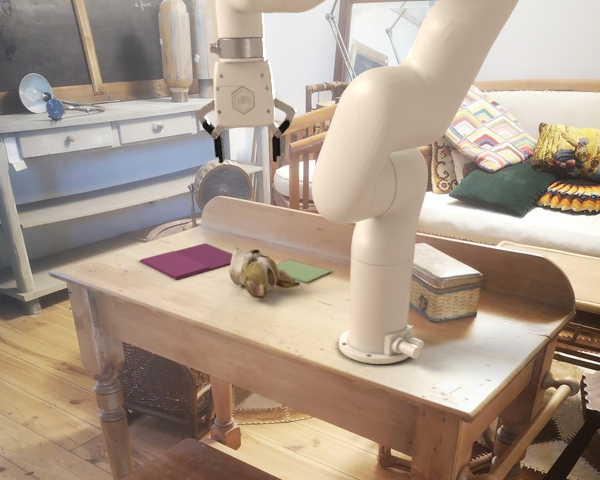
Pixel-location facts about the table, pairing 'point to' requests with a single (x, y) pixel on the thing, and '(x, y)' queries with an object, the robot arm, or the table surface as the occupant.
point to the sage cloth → (302, 271)
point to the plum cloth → (189, 261)
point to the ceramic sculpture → (257, 273)
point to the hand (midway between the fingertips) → (248, 161)
